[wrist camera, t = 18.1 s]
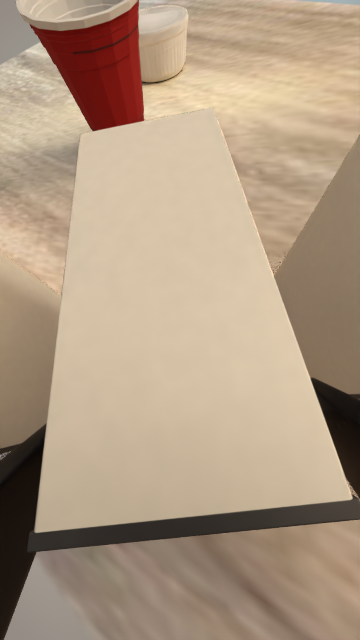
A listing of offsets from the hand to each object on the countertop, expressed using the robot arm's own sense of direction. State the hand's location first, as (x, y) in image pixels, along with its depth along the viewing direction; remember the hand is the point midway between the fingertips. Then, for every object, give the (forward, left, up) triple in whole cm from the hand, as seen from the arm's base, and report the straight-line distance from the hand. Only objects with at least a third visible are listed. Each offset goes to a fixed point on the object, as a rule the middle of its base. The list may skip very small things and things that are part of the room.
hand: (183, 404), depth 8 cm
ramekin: (+50, +21, -8) cm, 55 cm away
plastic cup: (+28, +18, -8) cm, 34 cm away
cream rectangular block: (+3, +1, -8) cm, 9 cm away
